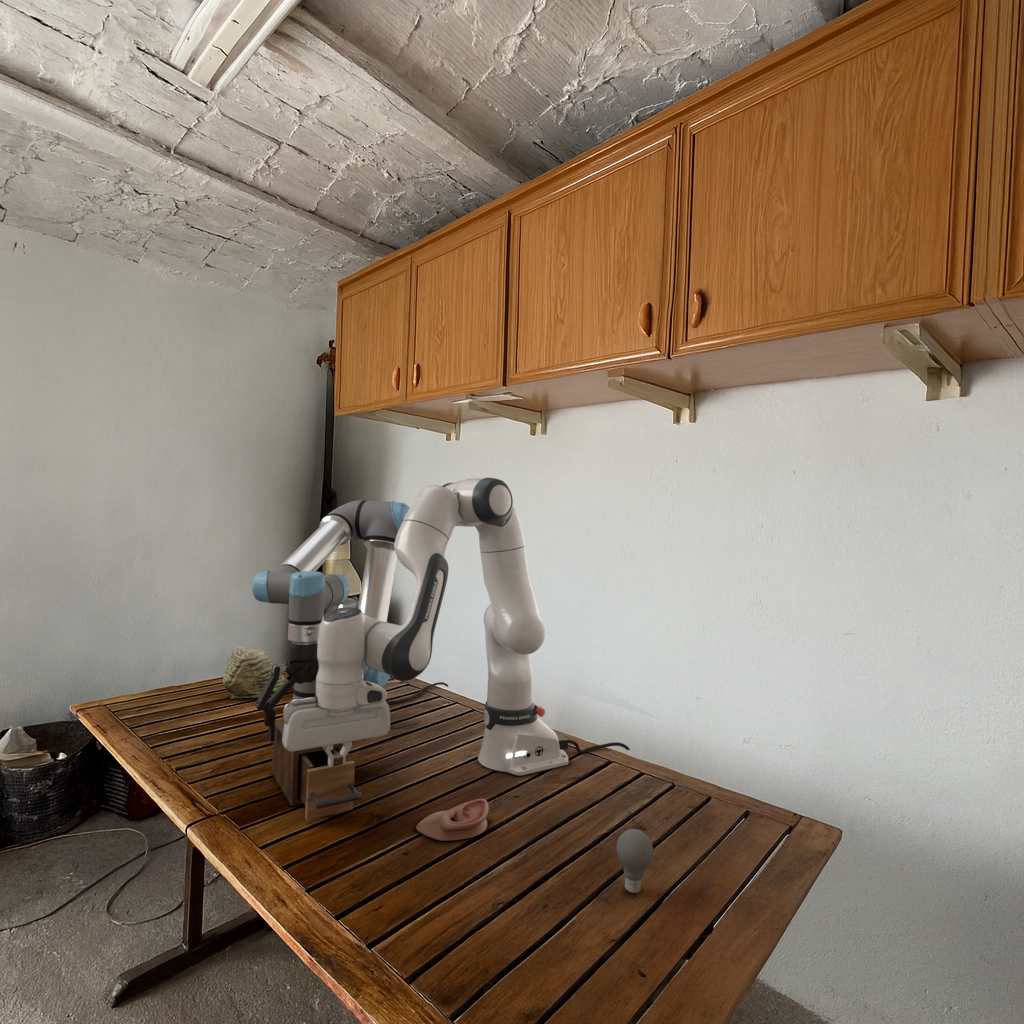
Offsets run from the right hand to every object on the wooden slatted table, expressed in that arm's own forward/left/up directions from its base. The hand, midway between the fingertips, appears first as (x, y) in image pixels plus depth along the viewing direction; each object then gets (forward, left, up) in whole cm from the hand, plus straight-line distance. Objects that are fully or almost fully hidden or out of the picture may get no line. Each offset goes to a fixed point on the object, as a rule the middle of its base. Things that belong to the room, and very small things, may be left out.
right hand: (336, 764), depth 122 cm
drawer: (+2, -8, -11) cm, 14 cm away
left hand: (+5, -24, -2) cm, 25 cm away
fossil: (+15, -88, -12) cm, 90 cm away
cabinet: (+4, -20, -12) cm, 24 cm away
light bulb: (-45, +35, -12) cm, 58 cm away
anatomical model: (-22, +7, -12) cm, 26 cm away
